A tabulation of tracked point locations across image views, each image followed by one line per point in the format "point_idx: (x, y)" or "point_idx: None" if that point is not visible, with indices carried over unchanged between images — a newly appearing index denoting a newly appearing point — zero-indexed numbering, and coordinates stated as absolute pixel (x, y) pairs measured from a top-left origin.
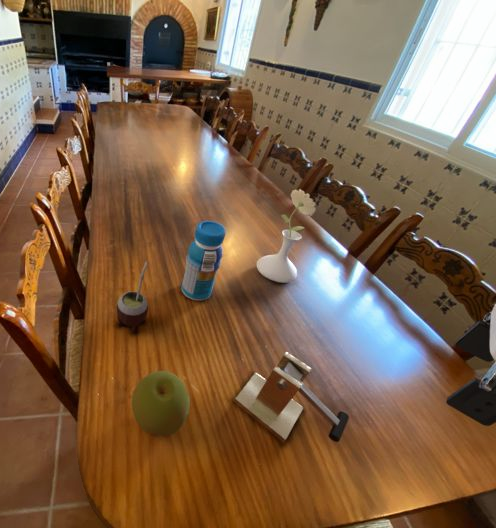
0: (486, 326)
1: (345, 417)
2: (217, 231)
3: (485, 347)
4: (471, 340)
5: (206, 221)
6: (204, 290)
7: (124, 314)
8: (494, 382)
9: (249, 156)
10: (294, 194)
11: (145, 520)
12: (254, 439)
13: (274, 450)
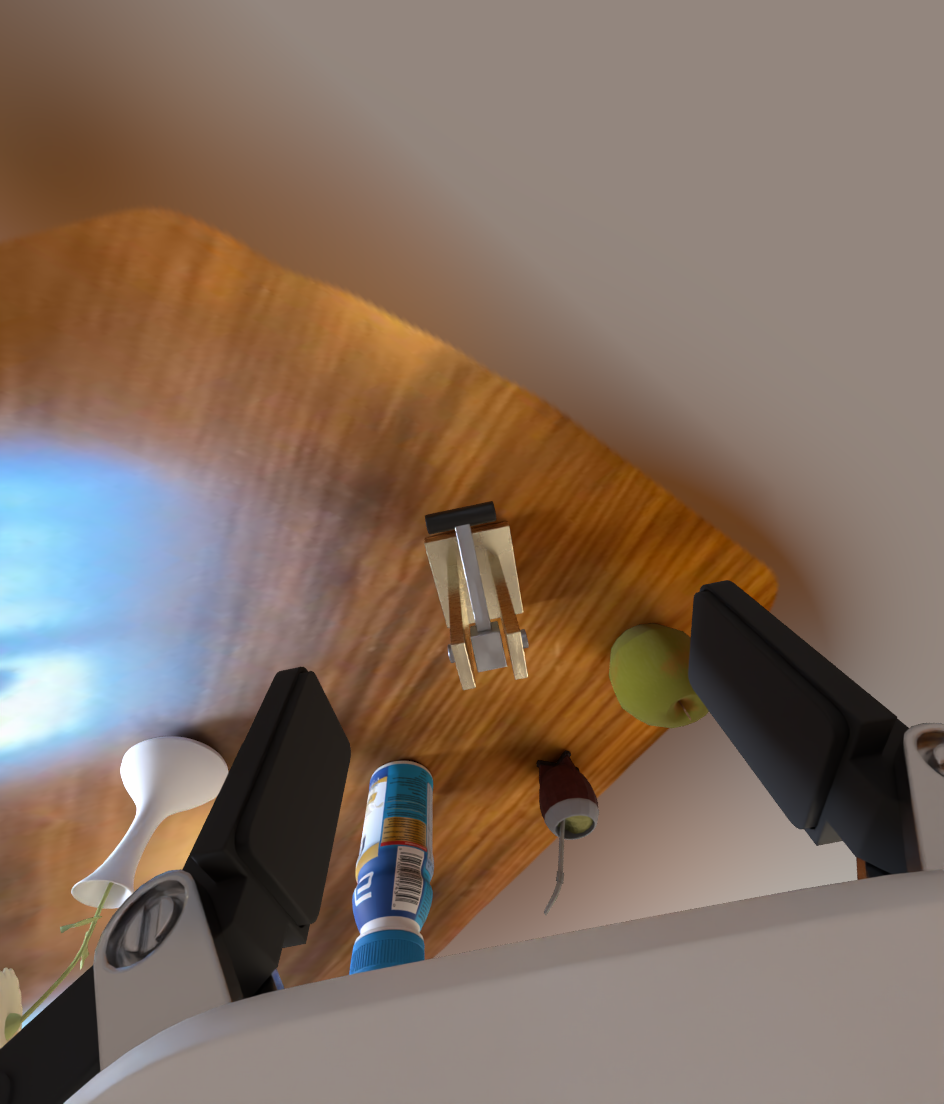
0: (291, 925)
1: (437, 523)
2: None
3: (312, 761)
4: (332, 798)
5: None
6: (409, 788)
7: (596, 803)
8: None
9: None
10: None
11: (751, 556)
12: (544, 548)
13: (531, 520)
